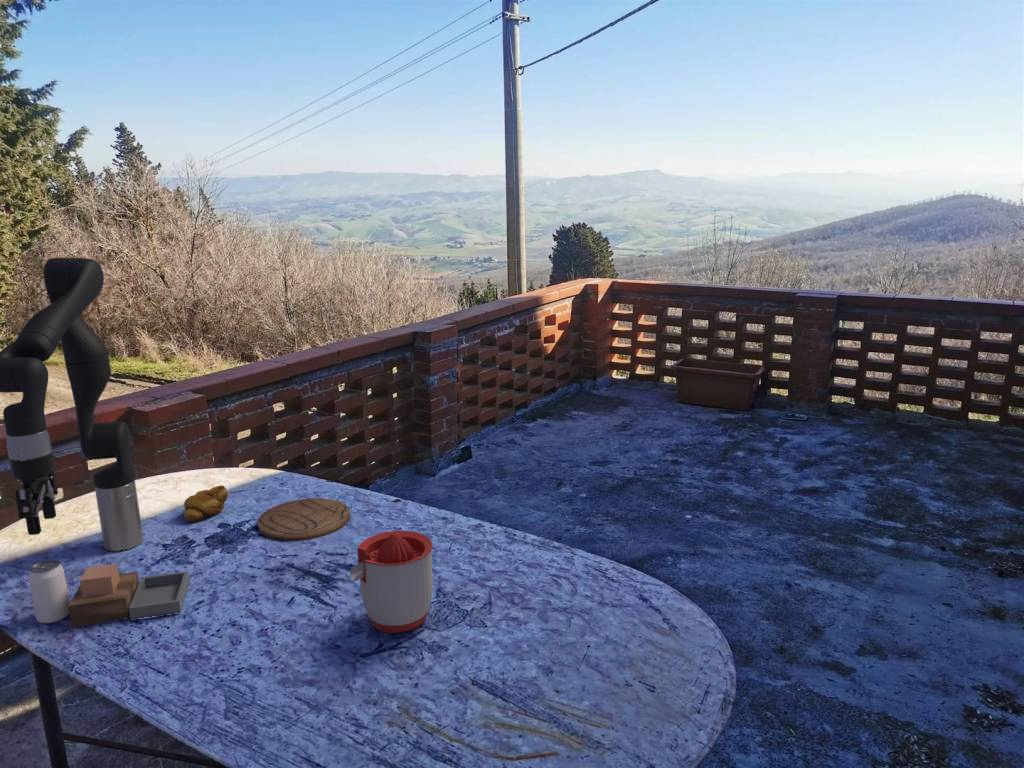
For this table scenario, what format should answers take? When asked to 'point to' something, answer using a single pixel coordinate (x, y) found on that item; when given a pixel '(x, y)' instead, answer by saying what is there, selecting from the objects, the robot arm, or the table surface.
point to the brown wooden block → (104, 603)
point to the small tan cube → (99, 580)
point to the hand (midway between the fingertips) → (42, 525)
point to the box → (159, 595)
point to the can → (49, 591)
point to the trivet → (304, 519)
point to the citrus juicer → (395, 579)
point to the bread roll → (205, 503)
